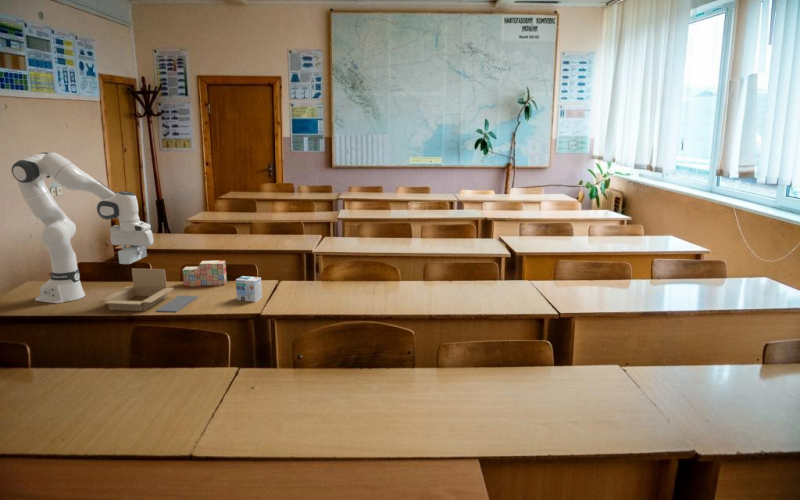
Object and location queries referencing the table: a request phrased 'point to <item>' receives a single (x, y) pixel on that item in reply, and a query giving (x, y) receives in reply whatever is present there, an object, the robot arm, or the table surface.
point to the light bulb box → (249, 288)
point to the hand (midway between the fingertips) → (133, 254)
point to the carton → (140, 291)
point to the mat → (177, 304)
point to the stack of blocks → (205, 274)
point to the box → (131, 254)
